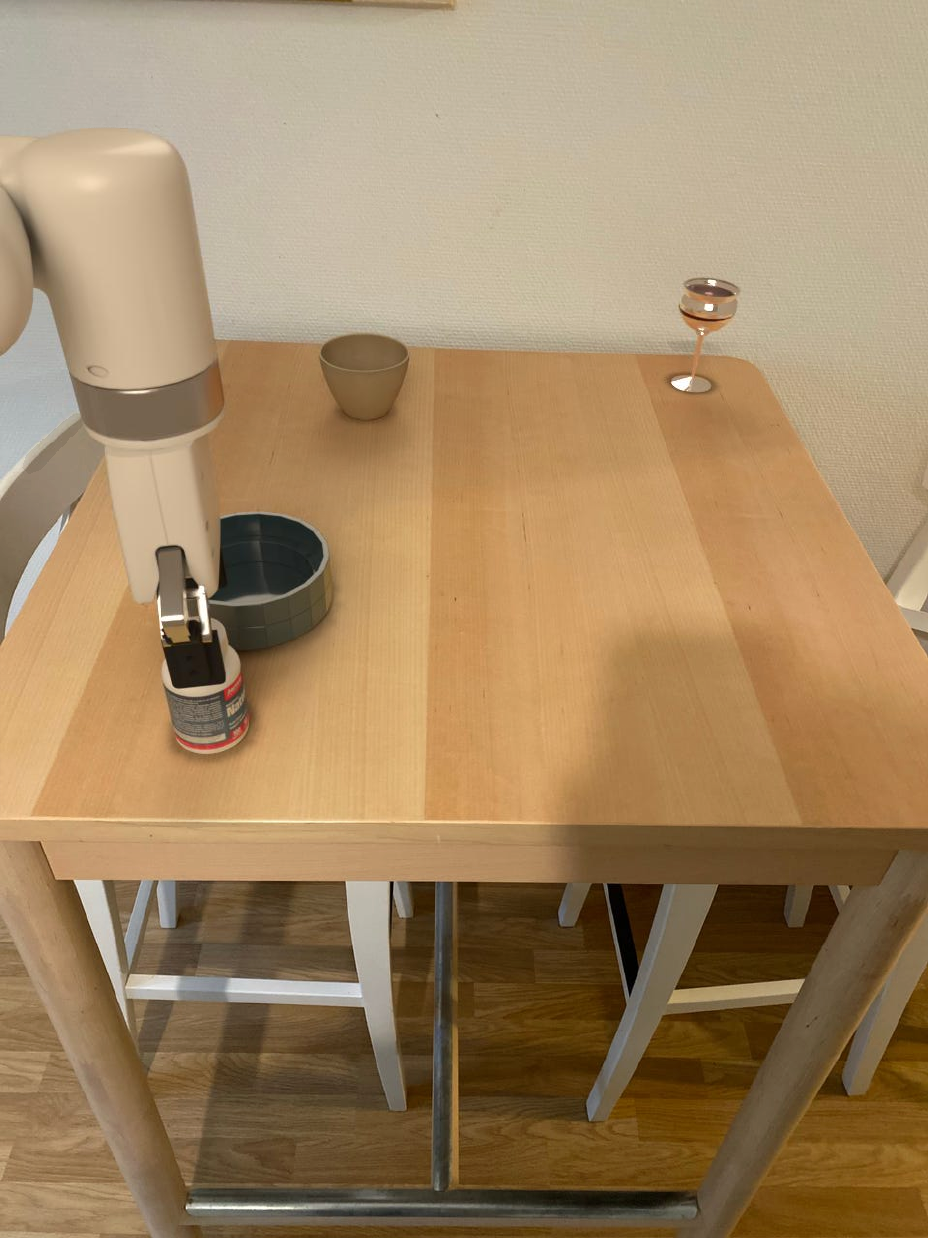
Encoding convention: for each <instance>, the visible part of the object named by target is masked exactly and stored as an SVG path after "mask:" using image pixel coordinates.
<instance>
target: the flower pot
mask: <svg viewBox="0 0 928 1238" xmlns="http://www.w3.org/2000/svg"><path fill="white" fill-rule="evenodd" d="M317 353H318V359H319V364H320V368H321V371H322V375H323V377H324V380H325V383H326V385H327V387H328V390H329V391H330V394H331V395H332V396H333V398H334V400H335V402H336V403H337V404H338V406H339V407H340V409H341V410H342V412H343V413H344V414H345V415H347V416H348V417H350V418H351V419H355V420H361V421H372V420H377V419H380V418H382V417H384V416H385V415H386V414H387V413H388V412H389V410H390V409H391V407H392V406H393V405H394V403H395V401H396V399H397V397H398V396H399V393H400V391H401V389H402V387H403V384H404V382H405V380H406V376H407V371H408V367H409V362H410V354H411V351H410V348H409V347H408V346H407V344H406V343H404V342H403V341H402V340H399V339H397V338H395V337H392V336H389V335H386V334H381V333H373V332H355V333H354V332H353V333H346V334H341V335H337V336H334V337H331V338H329V339H328V340H326V341H324V342H323V343H322V344H321V345H320V346H319V348H318V352H317Z"/></svg>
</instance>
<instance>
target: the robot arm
mask: <svg viewBox="0 0 928 1238" xmlns="http://www.w3.org/2000/svg"><path fill="white" fill-rule="evenodd" d="M194 205H195V204H194V198H193V193H192V186H191V182H190V176H189V173H188V168H187V166H186V163H185V160H184V159H183V157H182V155H181V154H180V152H179V150H178V149H177V148H176V146H175V145H174V144H173V143H171V142H170V141H169V140H167V139H166V138H164V137H163V136H160V135H158V134H156V133H152V132H149V131H145V130H142V129H134V128H128V127H127V128H126V127H88V128H87V127H86V128H85V127H84V128H77V129H69V130H64V131H58V132H54V133H50V134H48V135H47V134H46V135H44V136H26V135H9V134H0V357H1V356H3V355H5V354H6V353H7V352H8V351H9V350H10V349H11V348H12V347H13V346H14V345H15V344H16V343H17V342H18V340H19V338H20V337H21V335H22V333H23V332H24V331H25V329H26V327H27V325H28V323H29V320H30V316H31V313H32V310H33V303H34V289H38V290H39V291H42V292H43V293H44V294H45V295H46V297H47V299H48V301H49V305H50V308H51V313H52V316H53V320H54V322H55V323H54V324H55V327H56V330H57V334H58V338H59V342H60V345H61V349H62V352H63V356H64V360H65V364H66V367H67V371H68V373H69V377H70V382H71V385H72V388H73V392H74V396H75V399H76V403H77V407H78V410H79V414H80V418H81V421H82V425H83V428H84V431H85V432H86V434H87V435H88V436H89V438H91V439H93V440H94V441H95V442H97V443H99V444H102V445H103V451H104V461H105V469H106V475H107V477H106V478H107V484H108V490H109V494H110V495H109V496H110V500H111V507H112V512H113V517H114V522H115V526H116V530H117V535H118V541H119V544H120V551H121V554H122V558H123V563H124V564H123V565H124V568H125V572H126V578H127V582H128V585H129V586H128V587H129V590H130V595H131V599H132V600H133V601H134V602H135V603H136V604H138V605H139V606H144V605H145V604H153V603H154V601H155V598H156V601H157V602H156V603H157V611H158V620H159V621H158V622H159V630H160V642H161V646H162V651H163V654H164V659H166V663H167V667H168V670H169V674H170V678H171V682H172V685H173V687H174V688H177V689H183V688H192V687H201V686H210V685H219V684H223V683H224V682H225V681H226V671H225V666H224V661H223V656H222V651H221V646H220V641H219V636H218V631H217V630H212V627H211V617H210V608H209V598H210V597H211V596H213V595H214V593H215V592H216V591H217V590H218V588H224V587H226V586H227V573H226V568H225V562H224V557H223V551H222V546H221V540H220V516H221V508H220V507H221V506H220V495H219V487H218V486H219V485H218V479H217V472H216V464H215V459H214V453H213V447H212V441H211V436H210V433H212V432H213V431H214V430H215V429H217V428H218V427H219V426H220V424H221V423H222V422H223V421H224V420H225V418H226V415H227V407H226V406H227V405H226V400H225V392H224V386H223V382H222V375H221V368H220V362H219V355H218V352H217V351H218V350H217V344H216V338H215V330H214V325H213V319H212V318H213V317H212V311H211V305H210V299H209V293H208V287H207V281H206V274H205V268H204V261H203V256H202V250H201V244H200V243H201V241H200V236H199V230H198V224H197V218H196V212H195V211H196V210H195V206H194ZM195 599H197V603H198V612H199V622H198V621H196V620H189V614H188V610H187V601H186V600H195Z"/></svg>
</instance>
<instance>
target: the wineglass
mask: <svg viewBox="0 0 928 1238" xmlns="http://www.w3.org/2000/svg"><path fill="white" fill-rule="evenodd" d="M682 285H683V288H684V291H683V292H682V294H681V296H680V298H679V301H678V311H679V315H680V318H681V319H682V320H683V321H684V323H685V324H686V326H688V327H689V328H690V329H692V330H694V332H695V334H696V335H697V338H696V345H695V351H694V357H693V363H692V369H691V374H680V375H676V376H674V377H673V378H671V380H670V382H671V384H672V386H673V387H675V388H676V389H678V390H681V391H684V392H689V393H704V392H708V391H709V390H710V389H711V388H712V384H711V383H710V381H709V380H707V379H705V378H703V377H700V376H697V375H695V374H696V371H697V368H698V363H699V359H700V356H701V353H702V348H703V345H704V340H705V337H706V336H708V335H709V334H710V333H713V332H717V331H718V332H719V331H720V330H721V329H722V328H724V327H725V326H727V325H728V324H730V323H731V322H732V321H733V319H734V317H735V315H736V313H737V310H738V299H737V298H738V297H739V295H740V294H741V292H742V291H741V288H740V287H739V286H738V285H737V284H735V283H733V282H731V281H728V280H725V279H720V278H715V277H703V276H702V277H692V278H688V279H686V280H684V281H683V284H682Z"/></svg>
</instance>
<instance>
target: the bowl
mask: <svg viewBox="0 0 928 1238" xmlns="http://www.w3.org/2000/svg"><path fill="white" fill-rule="evenodd" d="M220 540H221V546H222V551H223V557H224V562H225V568H226V573H227V586H226V587H224V588H218V590H217V591H216V592H215V593H214V595H213V596H211V597H210V598H209V608H210V617H211V618H213V619H215V620H217V621H219V622H220V623H221V624H222V625H223V626H224V628H225V631H226V635H227V640H228V645H229V646H231V647H232V648H233V649H234V650H238V651H245V650H246V651H247V650H256V649H257V650H258V649H268V648H271V647H273V646H274V647H275V646H276V645H281V644H284V643H287V642H290V641H293V640H295V639H297V638H298V637H300V636H302V635H304V634H305V633H307V632H309V631H311V630H312V629H314V628H315V626H317V625H318V624H319V623H320V621H321V620H323V619H324V617H325V616H326V615H327V613H328V611H329V608H330V605H331V603H332V601H333V589H332V574H331V572H332V571H331V561H330V560H331V557H330V551H329V542H328V540H326V538H325V537H324V536H323V534H322V533H321V532H320V530H319V529H318V528H316V527H315V526H313V525H311V524H310V523H309V522H307V521H305V520H304V519H301V518H298V517H295V516H292V515H288V514H286V513H281V512H271V511H261V510H254V511H238V512H232V513H228V514H227V513H226V514H224V515H220ZM186 601H187V610H188V614H189V617H195V616H199V612H198V603H197V599H195V600H186Z"/></svg>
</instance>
